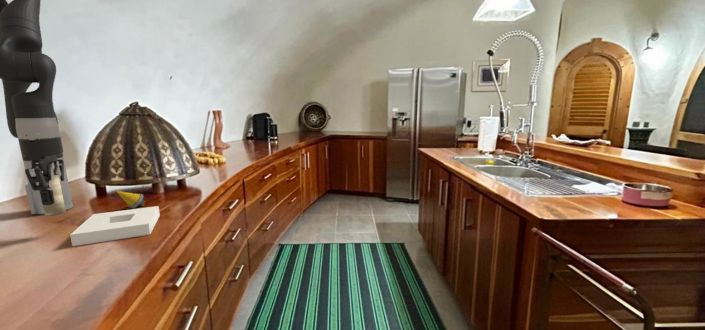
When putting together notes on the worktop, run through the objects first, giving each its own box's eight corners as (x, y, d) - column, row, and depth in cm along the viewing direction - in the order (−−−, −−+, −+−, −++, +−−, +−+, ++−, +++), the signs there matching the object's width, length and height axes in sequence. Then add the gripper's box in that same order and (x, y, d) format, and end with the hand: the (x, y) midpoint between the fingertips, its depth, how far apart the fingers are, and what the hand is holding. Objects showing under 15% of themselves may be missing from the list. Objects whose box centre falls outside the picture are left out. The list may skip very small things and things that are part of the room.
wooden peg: (41, 217, 78) (33, 179, 76) (49, 212, 82) (41, 175, 80) (61, 215, 80) (54, 177, 78) (68, 210, 84) (61, 174, 82)
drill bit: (148, 209, 103) (118, 194, 96) (136, 214, 104) (107, 200, 97) (152, 196, 106) (124, 181, 99) (142, 201, 108) (113, 187, 101)
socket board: (72, 246, 74) (70, 234, 74) (95, 224, 89) (93, 214, 88) (150, 234, 81) (148, 223, 80) (159, 215, 95) (158, 206, 94)
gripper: (34, 134, 82) (47, 196, 85) (1, 140, 69) (18, 212, 72) (70, 133, 85) (81, 193, 88) (45, 138, 72) (59, 208, 75)
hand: (53, 201), depth 80 cm, fingers closed on wooden peg, 4 cm apart
